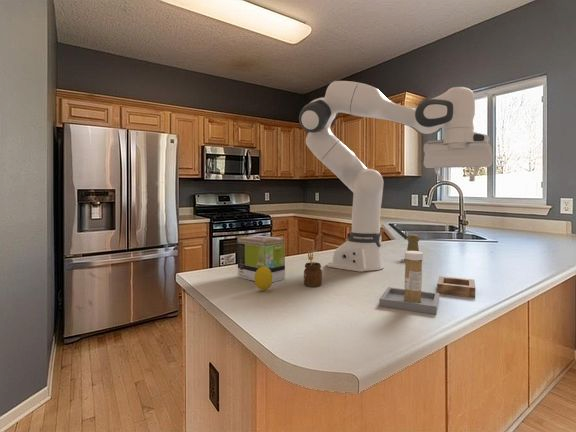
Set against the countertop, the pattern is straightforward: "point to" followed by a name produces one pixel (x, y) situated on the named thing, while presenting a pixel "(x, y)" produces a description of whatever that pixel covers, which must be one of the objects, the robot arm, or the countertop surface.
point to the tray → (396, 300)
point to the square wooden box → (456, 286)
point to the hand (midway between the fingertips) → (455, 181)
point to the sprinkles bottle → (413, 276)
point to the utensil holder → (312, 272)
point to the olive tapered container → (413, 242)
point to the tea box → (261, 256)
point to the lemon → (263, 278)
